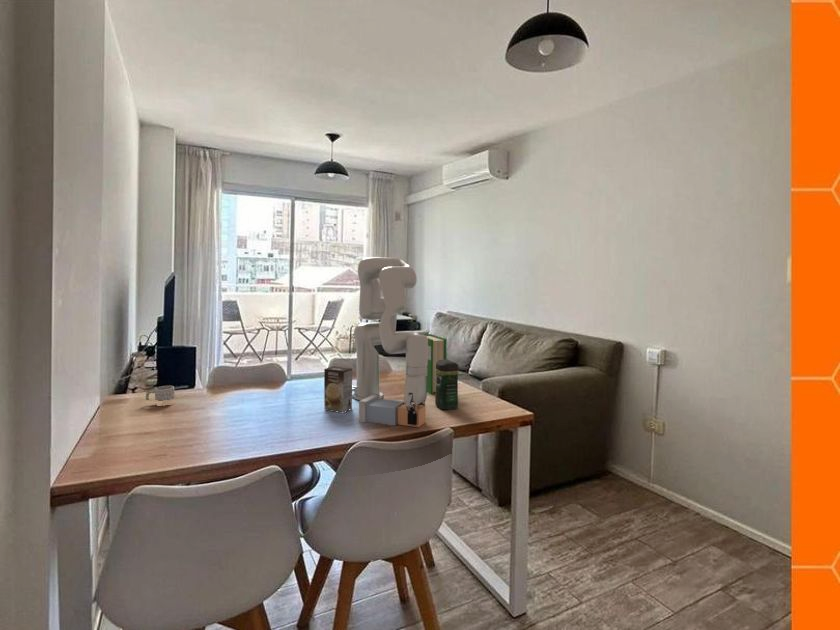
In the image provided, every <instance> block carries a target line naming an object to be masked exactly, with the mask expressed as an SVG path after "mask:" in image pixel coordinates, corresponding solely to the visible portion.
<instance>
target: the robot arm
mask: <svg viewBox="0 0 840 630" xmlns="http://www.w3.org/2000/svg"><path fill="white" fill-rule="evenodd" d="M410 265H411V264H408V263H406V262H405V261H404V260H403V259H401V258H399V257H387V256H386V257H384V256H369V257H363V258H362V259H361V260H360V261H359V263H358V265H357V274H358V275H357V277H358V281H359V288H360V289H359V290H360V291H359V302H358V303H359V305H358V311H359V316H360V318H361V319H362V320H365V321H371V322H361V323H358V324H357V325H356V326H355V328H354V330H353V337H354V342H355V351H356V353H355V354H356V385H352V392H354V393H352V399H354V400H356V399H357V400H356V401H361V400H363V399H365V398H367V397H369V396H371V395H373V394H377V395H379V399H383V397H384V394H383V392H381V391H380V354H379V352H378V350H377V349H376V348H375V346H379V345H381V346H382V349H383V350H384V352H385V353H387V354H389V355H396V354H405V382H404V395H403V402H404V403H405V404H406V408H407V413H408V424H410V425H416V424H417V413H416V408H417V405H424V406H426V400H427V397H428V394H427V393H428V392H427V380H426V376H427V375H428V338H427V337H426V336H425V335H420V333H418V332H416V331H398V332H397V331H396V330H397V319H398V313H401V312H402V311H404V310H405V309H407V307H409V300H408V296H407V292H406V289H409V290H410V289H413V288H415V286H416V285H417V279H418V278H417V273H416V271H415V269H414V268H413V267H412V266H410ZM381 295H382V296H381ZM377 320H379V321H378V322H377ZM373 321H374V322H373ZM375 321H376V322H375ZM411 406H414V409H413V407H411Z"/></svg>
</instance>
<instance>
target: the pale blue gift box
mask: <svg viewBox="0 0 840 630" xmlns="http://www.w3.org/2000/svg"><path fill="white" fill-rule="evenodd" d="M403 404H404V401H399V400H395V399H394V400H392V399H383V398H381V399H379V395H377V394H373V395H371V396H369V397H367V398H365V399H363V400H358V422H359V421H360V423H366V421H367V423H372V422H373V424H379V423H380V424H381V425H386V424H387V425H388V426H393V425H394V427H395V426H396V425H399V424H398V407H399V406H401V405H403ZM387 425H386V426H387Z"/></svg>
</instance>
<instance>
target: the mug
mask: <svg viewBox="0 0 840 630" xmlns="http://www.w3.org/2000/svg"><path fill="white" fill-rule="evenodd" d="M145 392H146V393H145V401H146V400H150V398H149V395H150V394H154V400H158V401H164V400H171V399H174V398H175V386H174V385H162V386H158V387H155V388H154V389H152V390H148V391H145Z"/></svg>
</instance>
